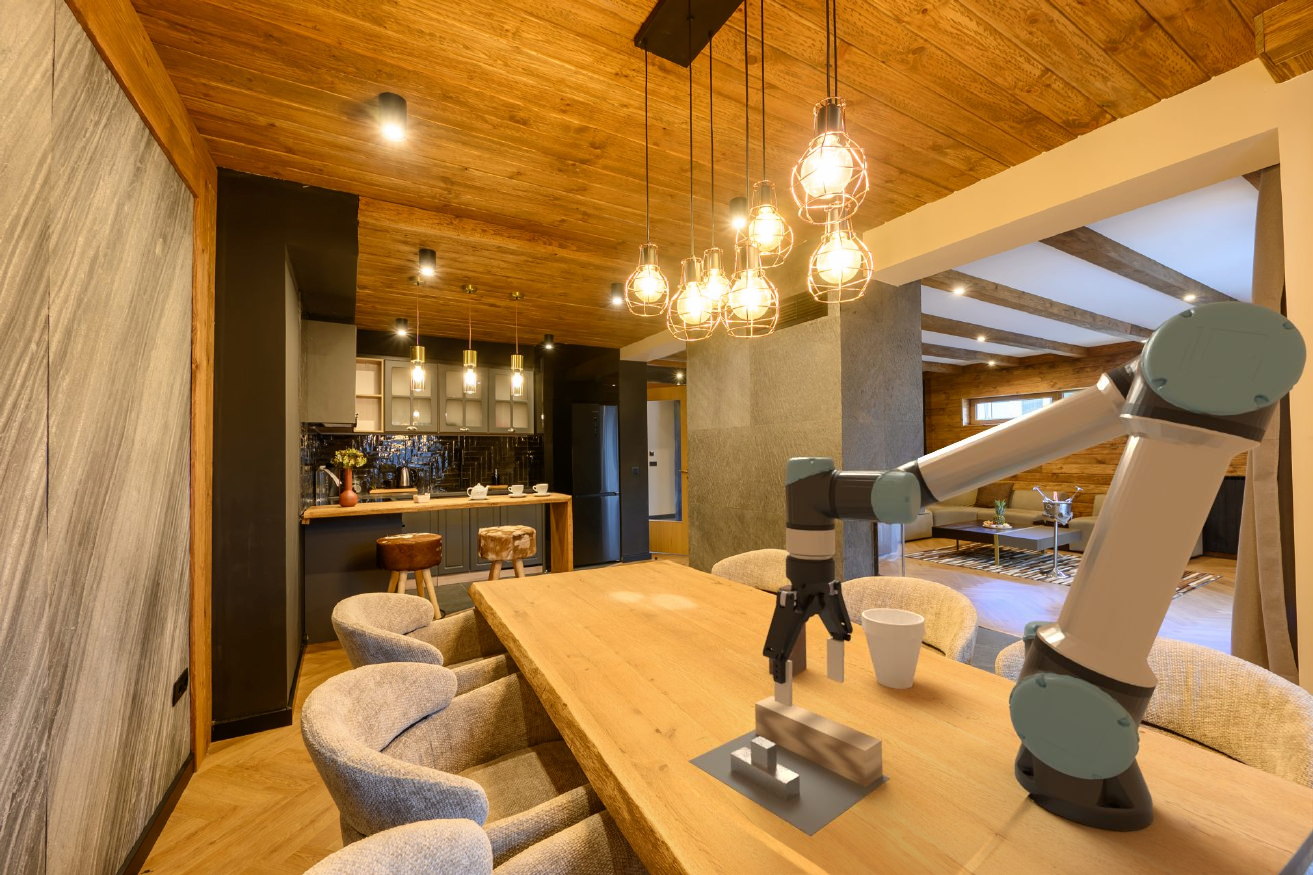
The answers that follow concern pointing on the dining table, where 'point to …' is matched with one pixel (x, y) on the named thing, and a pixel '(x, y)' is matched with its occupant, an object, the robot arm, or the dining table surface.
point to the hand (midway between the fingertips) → (810, 691)
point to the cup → (894, 644)
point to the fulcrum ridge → (765, 769)
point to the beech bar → (821, 740)
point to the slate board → (818, 785)
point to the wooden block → (795, 647)
